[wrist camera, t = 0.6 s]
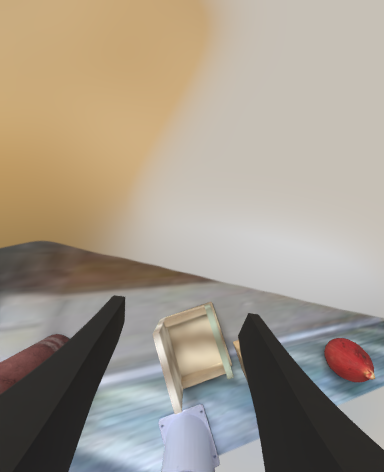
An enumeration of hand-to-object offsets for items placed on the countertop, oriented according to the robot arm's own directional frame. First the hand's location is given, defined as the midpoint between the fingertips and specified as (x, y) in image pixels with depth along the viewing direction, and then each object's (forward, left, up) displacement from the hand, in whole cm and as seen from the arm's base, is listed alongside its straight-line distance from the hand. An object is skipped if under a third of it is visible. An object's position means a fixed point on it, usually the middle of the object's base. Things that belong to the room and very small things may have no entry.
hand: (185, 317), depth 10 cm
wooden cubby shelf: (-11, +2, -24) cm, 26 cm away
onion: (-20, -21, -24) cm, 38 cm away
